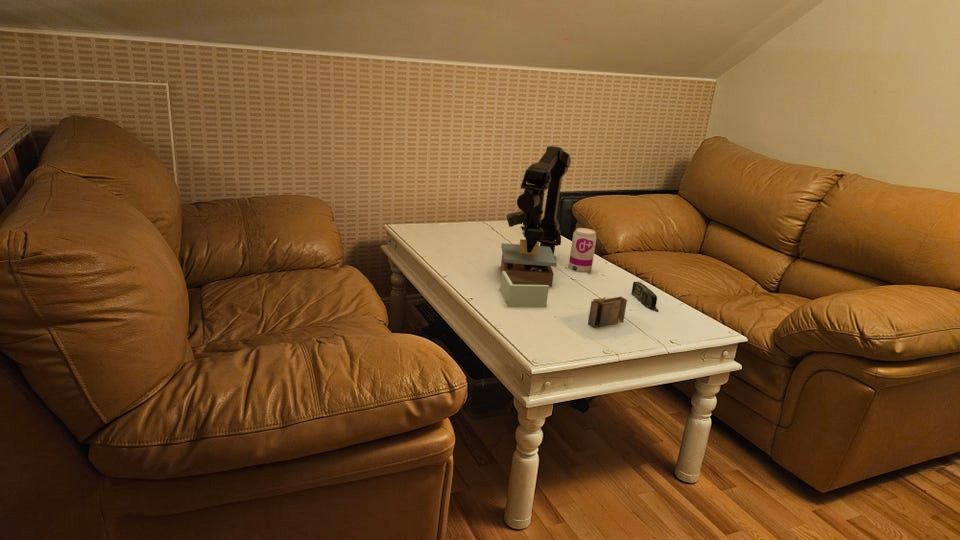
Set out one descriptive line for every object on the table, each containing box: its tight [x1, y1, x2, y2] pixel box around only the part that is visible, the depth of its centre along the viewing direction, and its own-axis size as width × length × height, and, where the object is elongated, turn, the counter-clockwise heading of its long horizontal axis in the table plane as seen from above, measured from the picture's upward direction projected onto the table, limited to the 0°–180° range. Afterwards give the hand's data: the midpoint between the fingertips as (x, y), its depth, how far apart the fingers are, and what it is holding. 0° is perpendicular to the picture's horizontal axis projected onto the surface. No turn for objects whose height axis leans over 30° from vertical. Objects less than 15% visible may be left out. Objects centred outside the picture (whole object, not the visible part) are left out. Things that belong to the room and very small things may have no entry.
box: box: [500, 253, 554, 288], centre depth 203 cm, size 16×16×6 cm
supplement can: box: [568, 227, 597, 274], centre depth 215 cm, size 8×8×15 cm
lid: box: [500, 239, 558, 267], centre depth 201 cm, size 17×17×5 cm
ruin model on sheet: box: [587, 296, 628, 329], centre depth 174 cm, size 11×3×10 cm, turn 120°
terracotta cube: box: [509, 263, 525, 270], centre depth 206 cm, size 4×4×4 cm
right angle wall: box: [499, 271, 550, 308], centre depth 186 cm, size 12×12×8 cm
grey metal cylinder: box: [531, 267, 542, 272], centre depth 201 cm, size 4×4×4 cm
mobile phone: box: [631, 281, 659, 312], centre depth 193 cm, size 5×3×15 cm
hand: (528, 250), depth 201 cm, fingers closed on lid, 3 cm apart
